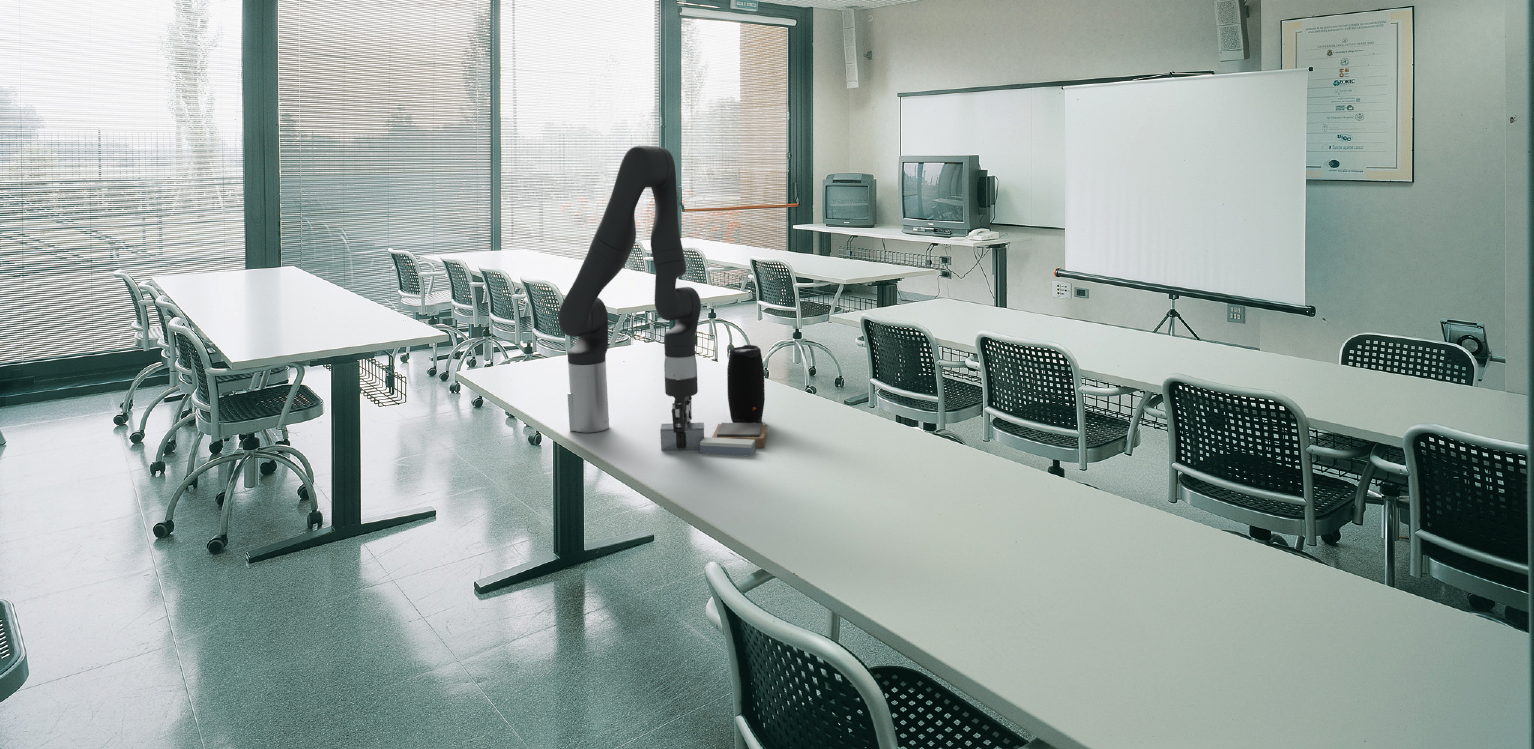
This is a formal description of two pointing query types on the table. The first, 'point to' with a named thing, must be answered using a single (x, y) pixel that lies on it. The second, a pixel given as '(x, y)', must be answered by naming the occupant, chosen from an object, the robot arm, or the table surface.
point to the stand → (743, 432)
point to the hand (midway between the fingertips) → (683, 444)
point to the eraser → (727, 446)
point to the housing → (692, 436)
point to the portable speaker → (746, 384)
